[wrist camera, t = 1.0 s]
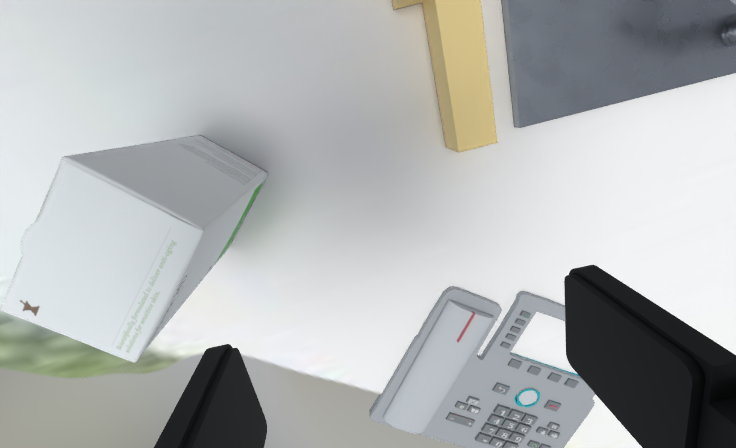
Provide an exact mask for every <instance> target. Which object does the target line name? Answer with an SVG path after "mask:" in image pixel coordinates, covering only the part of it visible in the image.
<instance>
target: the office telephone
mask: <svg viewBox="0 0 736 448" xmlns="http://www.w3.org/2000/svg"><path fill="white" fill-rule="evenodd" d="M501 311H502V310H501V307H500V306H499V305H498V304H497V303H495V302H493V301H491V300H489V299H486V298H484V297H481V296H479V295H476V294H473V293H471V292H468V291H466V290H463V289H460V288H458V287H449V288H447V289H446V290H445V291H444V292H443V293H442V295H441V296H440V298H439V300H438V301H437V303H436V304H435V306H434V307H433V309H432V311H431V312H430V314H429V316H428V317H427V319H426V320H425V322H424V324H423V326H422V328H421V330H420V332H419V334H418V335H417V336H416V337H415V338H414V340H413V341H412V343H411V344H410V346H409V348H408V350H407V351H406V353H405V355H404V357H403V358H402V360H401V362H400V363H399V365H398V367H397V369H396V370H395V372H394V374H393V376H392V377H391V379H390V381H389V382H388V384H387V386H386V388H385V389H384V391H383V393H382V394H381V393H379V395H378V397H377V399H376V400H375V402H374V403H373V405H372V407H371V408H370V410H369V412H370V419H371V420H372V421H375V422H378V423H382V424H385V425H388V426H392V427H395V428H398V429H400V430H403V431H407V432H411V433H416V434H419V435H423V436H426V437H430V438H433V439H437V440H441V441H444V442H447V443H451V444H454V445H458V446H461V447H464V448H564V446H565V445H566V444H567V442H568V441H569V440H570V438H571V437H572V436H573V434H574V433H575V432H576V430H577V429H578V427H579V426H580V425H581V423H582V422H583V421H584V419H585V418H586V417H587V415H588V414H589V412H590V411H591V409H592V407H593V406H594V400H593V399H592V398H593V396H594V395H595V393H594V392H593V390H592V389H591V388H590V387H589V386H588V385H587V384H586V382H585V381H584V380H583V379H582V378H581V377H580V376H579V375H578V374H574V373H571V372H568V371H564V370H561V369H558V368H555V367H552V366H549V365H546V364H543V363H540V362H537V361H534V360H531V359H528V358H525V357H522V356H519V355H517V354H514V353H511V350H512V349H513V347H514V346H515V344H516V342H517V341H518V339H519V338H520V336H521V334H522V333H523V331H524V330H525V328H526V327H527V325H528V324H529V322H530V321H531V319H532V318H533V316H534V315H535V313H536V312H540V313H543V314H546V315H549V316H552V317H555V318H558V319H560V320H563V321H565V306H564V305H561V304H559V303H556V302H554V301H551V300H549V299H546V298H543V297H540V296H537V295H534V294H531V293H528V292H524V291H520V292H519V293H518V294H517V296H516V299H515V301H514V303H513V305H512V306H511V308H510V310H509V311H508V313H507V315H506V316H505V318H504V320H503V321H502V323H501V324H500V326H499V328H498V329H497V331H496V332H495V334H494V336H493V337H492V339H491V340H490V342H489V344H488V345H487V347H486V348H485V350H484V352H483V353H482V355H481V356H478V355H477V353H478V351H479V349H480V347H481V346H482V344H483V342H484V340H485V339H486V337H487V335H488V334H489V332H490V330H491V329H492V327H493V325H494V323H495V322H496V320H497V318H498V317H499V315H500V313H501Z"/></svg>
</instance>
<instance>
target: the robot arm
mask: <svg viewBox="0 0 736 448" xmlns="http://www.w3.org/2000/svg"><path fill="white" fill-rule="evenodd" d="M564 282H565V324H566V355H567V359H568V361H569V363H570V365H571V366H572V368H573V369H574V370H575V371H576V372H577V373H578V374H579V376H580V377H581V378H582V379H583V380H584V381H585V382H586V384H587V385H588V386H589V387H590V388H591V389H592V390H593V392H594V393H595V394H596V395H597V396H598V397H599V398H600V400H601V401H602V402H603V403H604V404H605V405H606V406H607V408H608V409H609V410H610V411H611V412H612V413H613V414H614V416H615V417H616V418H617V419H618V420H619V421H620V422H621V424H622V425H623V426H624V427H625V428H626V429H627V430H628V432H629V433H630V434H631V435H632V436H633V437H634V438H635V439H636V441H637V442H638V443H639V444H640V445H641V446H642V447H643V448H736V355H734V354H733V353H731V352H730V351H728V350H727V349H725V348H723V347H722V346H720V345H719V344H717V343H716V342H714V341H713V340H711V339H709V338H708V337H706V336H705V335H703V334H702V333H700V332H698V331H697V330H695V329H694V328H692V327H691V326H689V325H688V324H686V323H684V322H683V321H681V320H680V319H678V318H677V317H675V316H674V315H672V314H670V313H669V312H667V311H666V310H664V309H663V308H661V307H659V306H658V305H656V304H655V303H653V302H652V301H650V300H649V299H647V298H645V297H644V296H642V295H641V294H639V293H638V292H636V291H634V290H633V289H631V288H630V287H628V286H627V285H625V284H624V283H622V282H620V281H619V280H617V279H616V278H614V277H613V276H611V275H610V274H608V273H606V272H605V271H603V270H602V269H600V268H599V267H597V266H595V265H589V266H585V267H580V268H575V269H572V270H571V271H570V273H569V275H568V276H566V277H565V281H564ZM266 433H267V424H266V420H265V416H264V414H263V411H262V408H261V406H260V403H259V401H258V398H257V395H256V393H255V390H254V388H253V385H252V383H251V380H250V377H249V375H248V372H247V370H246V367H245V364H244V362H243V359H242V357H241V354H240V352H239V350H238V349H237V348H232V346H231V345H229V344H226V345H222V346H217V347H212V348H208V349H207V350H206V351H205V353H204V355H203V356H202V358H201V360H200V362H199V364H198V366H197V368H196V370H195V372H194V374H193V375H192V377H191V379H190V381H189V383H188V385H187V387H186V388H185V390H184V392H183V394H182V396H181V398H180V400H179V402H178V403H177V405H176V407H175V409H174V411H173V413H172V415H171V417H170V419H169V420H168V422H167V424H166V426H165V428H164V430H163V432H162V433H161V435H160V437H159V439H158V441H157V443H156V445H155V447H154V448H264V444H265V439H266Z"/></svg>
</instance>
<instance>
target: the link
mask: <svg viewBox="0 0 736 448" xmlns="http://www.w3.org/2000/svg"><path fill="white" fill-rule="evenodd" d="M418 3H422V5H423V11H424V17H425V23H426V29H427V35H428V41H429V47H430V53H431V59H432V65H433V71H434V77H435V83H436V89H437V95H438V101H439V107H440V113H441V119H442V126H443V132H444V138H445V144H446V147H447V148H450V149H452V150H454V151H457V152H463V151H467V150H471V149H475V148H479V147H482V146H486V145H490V144H494V143H497V136H496V127H495V119H494V110H493V102H492V94H491V85H490V77H489V68H488V60H487V51H486V43H485V35H484V26H483V18H482V9H481V1H480V0H392V4H393V10H395V9H399V8H402V7H406V6H410V5H414V4H418Z"/></svg>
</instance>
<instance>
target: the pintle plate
mask: <svg viewBox="0 0 736 448" xmlns="http://www.w3.org/2000/svg"><path fill="white" fill-rule="evenodd" d="M502 10H503V20H504V29H505V39H506V49H507V59H508V69H509V78H510V88H511V98H512V108H513V118H514V127H518V128H521V127H525V126H529V125H533V124H537V123H541V122H545V121H549V120H553V119H557V118H561V117H564V116H568V115H572V114H576V113H580V112H584V111H588V110H592V109H596V108H600V107H604V106H608V105H611V104H615V103H619V102H623V101H627V100H631V99H635V98H639V97H643V96H647V95H651V94H654V93H658V92H662V91H666V90H670V89H674V88H678V87H682V86H686V85H690V84H694V83H698V82H701V81H705V80H709V79H713V78H717V77H721V76H725V75H729V74H733V73H736V0H502Z"/></svg>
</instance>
